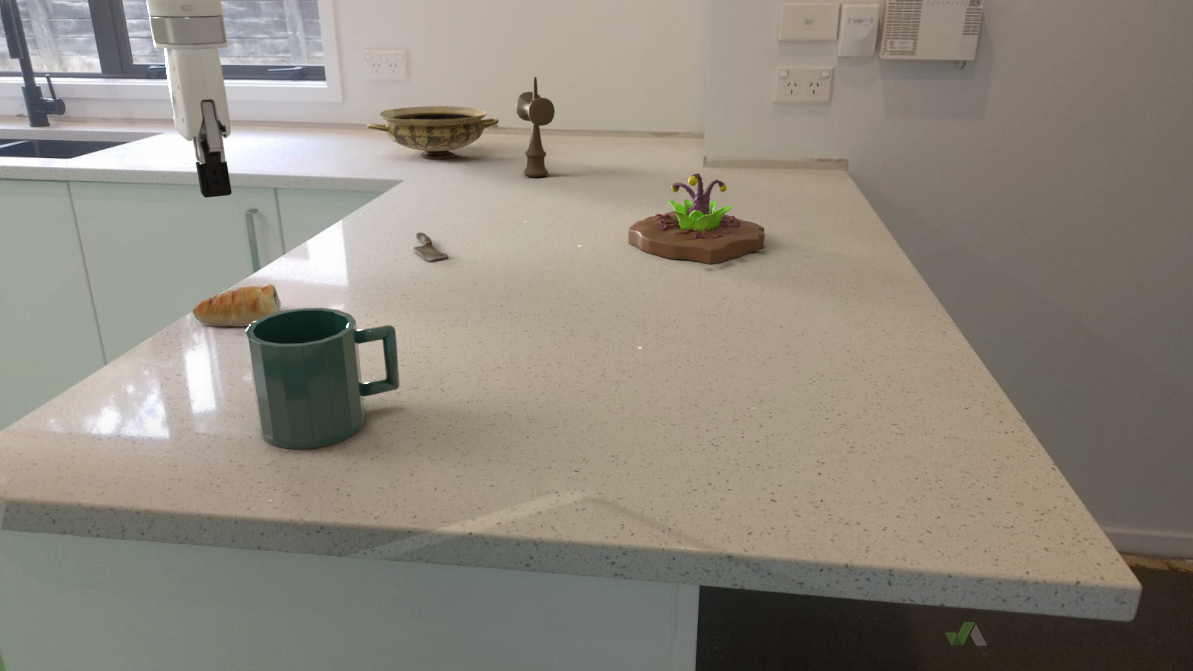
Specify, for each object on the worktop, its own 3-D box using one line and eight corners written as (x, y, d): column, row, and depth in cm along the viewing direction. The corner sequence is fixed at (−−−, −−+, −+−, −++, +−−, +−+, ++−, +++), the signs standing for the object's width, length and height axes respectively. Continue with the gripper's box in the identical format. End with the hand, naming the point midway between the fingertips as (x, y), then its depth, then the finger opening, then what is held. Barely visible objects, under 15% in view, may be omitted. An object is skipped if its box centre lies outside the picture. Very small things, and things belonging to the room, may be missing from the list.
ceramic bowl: (488, 144, 209) (486, 103, 205) (512, 162, 189) (511, 116, 185) (364, 149, 200) (360, 106, 196) (375, 169, 179) (371, 121, 175)
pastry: (192, 333, 94) (186, 301, 92) (198, 313, 100) (192, 282, 98) (281, 324, 97) (277, 293, 95) (281, 305, 103) (277, 275, 101)
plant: (606, 245, 129) (608, 172, 125) (672, 220, 144) (675, 154, 139) (722, 270, 118) (728, 192, 114) (780, 241, 133) (788, 170, 129)
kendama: (542, 170, 181) (542, 74, 173) (556, 179, 172) (556, 78, 165) (515, 172, 179) (514, 74, 171) (528, 181, 170) (527, 79, 163)
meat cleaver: (413, 263, 119) (449, 263, 120) (413, 256, 119) (449, 255, 120) (411, 238, 129) (444, 238, 131) (411, 231, 129) (444, 230, 130)
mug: (271, 458, 69) (255, 353, 66) (253, 414, 77) (238, 317, 73) (416, 425, 75) (409, 327, 72) (387, 387, 82) (379, 296, 79)
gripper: (144, 30, 98) (174, 186, 105) (161, 38, 86) (192, 213, 93) (213, 29, 101) (237, 179, 109) (238, 37, 90) (263, 204, 97)
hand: (216, 194), depth 101 cm, fingers closed
